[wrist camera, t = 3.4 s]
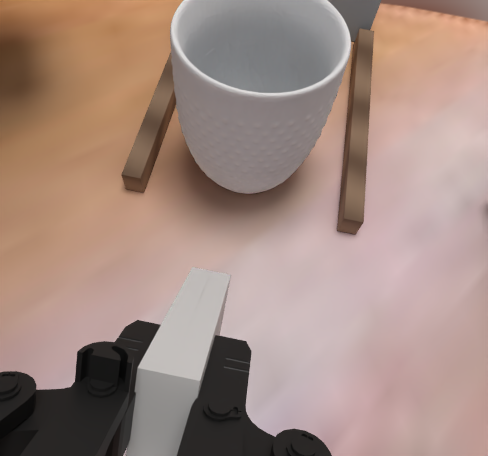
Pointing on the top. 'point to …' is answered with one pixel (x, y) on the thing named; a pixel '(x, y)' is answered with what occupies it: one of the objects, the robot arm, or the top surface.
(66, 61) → the top surface
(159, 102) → the channel
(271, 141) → the mug
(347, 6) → the stop
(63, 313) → the top surface
